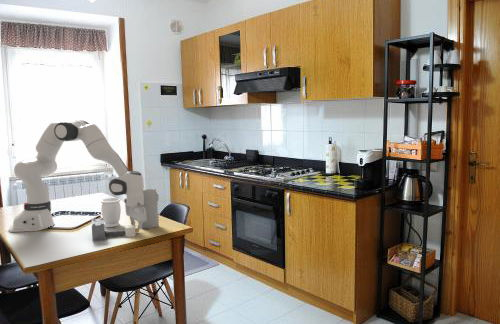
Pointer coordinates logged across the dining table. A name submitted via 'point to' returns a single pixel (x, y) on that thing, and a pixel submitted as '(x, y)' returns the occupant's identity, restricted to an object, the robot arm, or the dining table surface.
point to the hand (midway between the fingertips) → (136, 226)
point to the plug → (122, 232)
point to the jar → (111, 211)
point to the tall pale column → (151, 208)
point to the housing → (98, 229)
